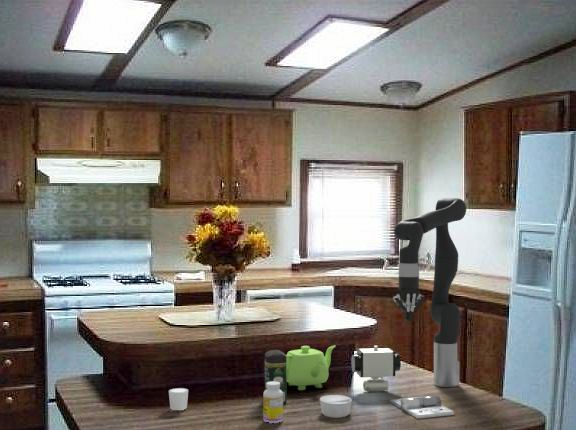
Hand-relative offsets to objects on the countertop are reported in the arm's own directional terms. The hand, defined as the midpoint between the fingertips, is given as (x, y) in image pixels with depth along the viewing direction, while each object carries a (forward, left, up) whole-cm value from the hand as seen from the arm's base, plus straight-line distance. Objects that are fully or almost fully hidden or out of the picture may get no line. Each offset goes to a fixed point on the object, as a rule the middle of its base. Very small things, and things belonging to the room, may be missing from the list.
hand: (408, 321), depth 263 cm
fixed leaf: (+2, +9, -29) cm, 30 cm away
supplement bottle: (+56, +10, -29) cm, 64 cm away
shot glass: (+84, -13, -29) cm, 90 cm away
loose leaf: (+2, +17, -29) cm, 34 cm away
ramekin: (+33, +9, -29) cm, 45 cm away
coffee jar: (+48, -13, -29) cm, 58 cm away
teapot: (+28, -28, -29) cm, 49 cm away
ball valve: (+7, -14, -29) cm, 33 cm away
